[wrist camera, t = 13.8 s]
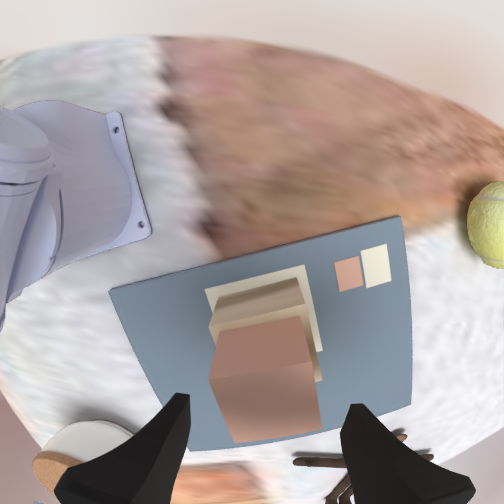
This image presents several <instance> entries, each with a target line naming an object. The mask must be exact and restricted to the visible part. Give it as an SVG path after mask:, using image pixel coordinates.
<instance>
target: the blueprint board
mask: <svg viewBox="0 0 504 504" xmlns="http://www.w3.org/2000/svg"><path fill="white" fill-rule="evenodd" d="M295 277H297V280H298V283H299V286H300V289H301V292H302V295H303V298H304V301H305V304H306V308H307V312H308V317H309V321H310V325H311V330H312V334H313V339H314V343H315V348H316V352H317V357H318V362H319V366H320V371H321V376H322V381H318V382H315V385H316V391H317V397H318V404H319V410H320V417H321V423H322V430H318V431H313V432H308V433H303V434H297V435H292V436H286V437H280V438H273V439H266V440H259V441H251V442H242V443H234V441H233V439H232V436H231V434H230V432H229V429H228V427H227V425H226V422H225V420H224V418H223V415H222V413H221V411H220V408H219V406H218V403H217V401H216V398H215V396H214V393H213V391H212V388H211V386H210V383H209V380H208V377H209V373H210V369H211V365H212V361H213V357H214V353H215V349H216V346H215V343H214V340H213V338H212V335H211V333H210V330H209V327H208V326H209V323H210V320H211V318H212V315H213V312H214V309H215V306H216V303H217V300H218V297H220V296H224V295H228V294H232V293H236V292H240V291H244V290H248V289H252V288H256V287H260V286H264V285H268V284H272V283H276V282H280V281H284V280H288V279H291V278H295ZM108 292H109V295H110V297H111V300H112V302H113V305H114V307H115V310H116V312H117V314H118V317H119V319H120V321H121V324H122V326H123V328H124V331H125V333H126V335H127V337H128V339H129V342H130V344H131V346H132V348H133V350H134V352H135V354H136V356H137V359H138V361H139V363H140V365H141V367H142V369H143V371H144V373H145V375H146V377H147V378H148V380H149V382H150V384H151V386H152V388H153V390H154V392H155V394H156V395H157V397H158V399H159V401H160V403H161V404H162V406H163V407H164V406H165V405H166V403H167V402H168V401H169V400H170V399H171V397H172V396H173V395H174V394H175V393H176V392H177V393H184V394H190V410H191V428H190V434H189V439H188V444H187V448H188V449H189V451H190V452H191V451H207V450H219V449H229V448H238V447H246V446H253V445H260V444H266V443H273V442H278V441H284V440H289V439H294V438H299V437H304V436H308V435H313V434H317V433H321V432H326V431H330V430H333V429H337V428H341V427H342V426H343V424H344V421H345V418H346V416H347V413H348V410H349V408H350V405H351V404H357V403H363V404H364V405H365V406H366V407H367V408H368V409H369V410H370V411H371V412H372V413H373V414H374V415H375V416H376V417H378V416H381V415H384V414H386V413H389V412H392V411H395V410H398V409H400V408H403V407H406V406H408V405H411V394H412V317H411V299H410V286H409V275H408V265H407V256H406V248H405V240H404V233H403V226H402V220H401V216H398V215H397V216H393V217H390V218H386V219H382V220H378V221H374V222H370V223H366V224H362V225H359V226H355V227H351V228H347V229H343V230H339V231H335V232H331V233H327V234H324V235H320V236H316V237H312V238H308V239H304V240H300V241H296V242H293V243H289V244H285V245H281V246H277V247H273V248H269V249H265V250H261V251H258V252H254V253H250V254H246V255H242V256H238V257H234V258H230V259H226V260H223V261H219V262H215V263H211V264H207V265H203V266H199V267H195V268H191V269H187V270H184V271H180V272H176V273H172V274H168V275H164V276H160V277H156V278H152V279H148V280H145V281H141V282H137V283H133V284H129V285H125V286H121V287H117V288H113V289H111V290H110V291H108Z"/></svg>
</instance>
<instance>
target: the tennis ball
mask: <svg viewBox="0 0 504 504" xmlns="http://www.w3.org/2000/svg"><path fill="white" fill-rule="evenodd" d="M468 209H469V210H468V214H467V228H468V236H469V239H470V242H471V245H472V247H473V250H475V251H476V253H477V254H478V255H479V256H480V257H481V259H482V260H483V263H485V264H486V265H489V266H492V267H493V268H494V267H495V268H497V269H498V268H502V269H504V182H503V181H502V182H501V181H498V182H495V183H490V184H488V185H487V186H485V187H484V188H483V189H481V191H480V193H479V194H478V195H477V196H476V197H474V199H473V200H472V201H471V203H470V206H469V208H468Z"/></svg>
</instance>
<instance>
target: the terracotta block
mask: <svg viewBox="0 0 504 504" xmlns="http://www.w3.org/2000/svg"><path fill="white" fill-rule="evenodd" d="M208 380H209V383H210V386H211V388H212V391H213V393H214V396H215V398H216V401H217V403H218V406H219V408H220V411H221V413H222V415H223V418H224V420H225V422H226V425H227V427H228V429H229V432H230V434H231V436H232V439H233V441H234V443H242V442H251V441H259V440H266V439H273V438H280V437H286V436H292V435H297V434H303V433H308V432H313V431H318V430H322V423H321V417H320V410H319V404H318V397H317V391H316V385H315V378H314V372H313V366H312V361H311V357H310V353H309V349H308V345H307V341H306V337H305V334H304V330H303V326H302V322H301V319H300V316H296V317H291V318H286V319H282V320H277V321H272V322H267V323H262V324H257V325H252V326H246V327H241V328H235V329H230V330H224V331H220V333H219V337H218V341H217V345H216V349H215V353H214V357H213V361H212V365H211V369H210V373H209V377H208Z"/></svg>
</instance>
